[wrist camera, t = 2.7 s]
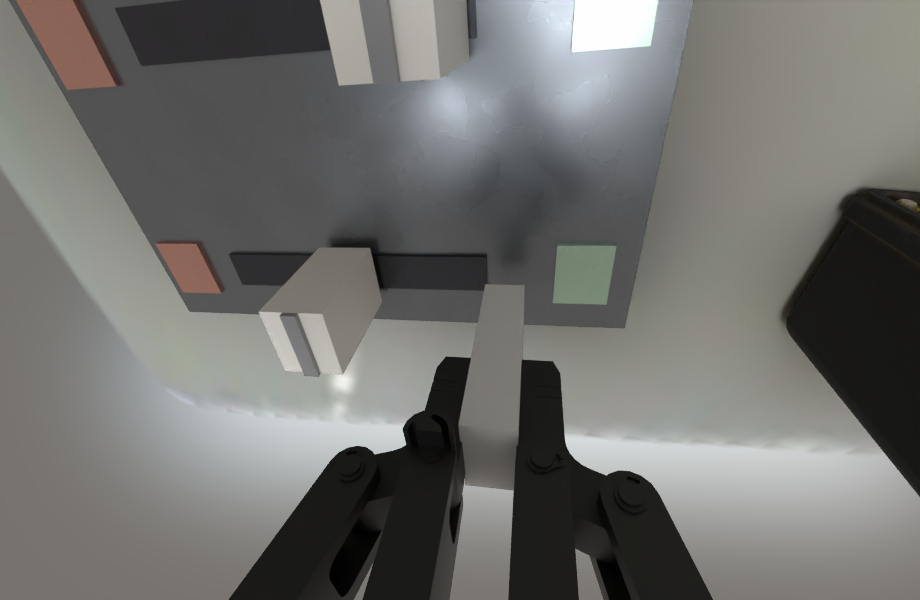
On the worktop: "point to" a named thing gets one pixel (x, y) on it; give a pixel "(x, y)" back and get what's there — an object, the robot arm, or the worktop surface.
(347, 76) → the block
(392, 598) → the robot arm
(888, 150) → the worktop surface
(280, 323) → the block
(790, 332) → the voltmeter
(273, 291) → the breaker panel
